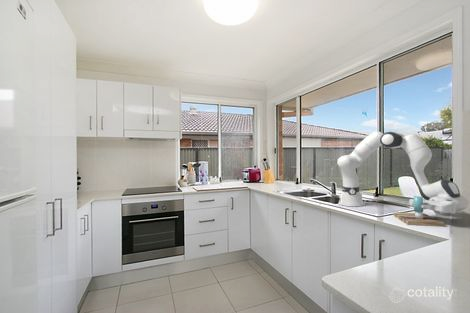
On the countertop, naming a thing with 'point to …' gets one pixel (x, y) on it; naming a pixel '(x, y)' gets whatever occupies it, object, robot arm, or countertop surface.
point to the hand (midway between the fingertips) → (417, 205)
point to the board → (410, 219)
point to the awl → (418, 207)
